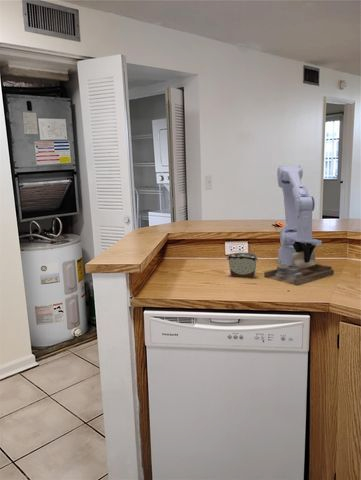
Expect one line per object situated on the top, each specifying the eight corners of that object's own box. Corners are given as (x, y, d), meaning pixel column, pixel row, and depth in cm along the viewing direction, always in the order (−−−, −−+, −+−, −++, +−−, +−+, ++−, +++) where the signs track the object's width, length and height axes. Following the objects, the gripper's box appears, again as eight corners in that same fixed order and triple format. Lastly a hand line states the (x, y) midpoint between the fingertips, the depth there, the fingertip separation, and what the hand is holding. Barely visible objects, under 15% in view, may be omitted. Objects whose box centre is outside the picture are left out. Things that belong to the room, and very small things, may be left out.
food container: (261, 277, 166) (261, 253, 165) (257, 281, 161) (257, 256, 159) (232, 275, 172) (231, 251, 170) (227, 278, 166) (226, 254, 164)
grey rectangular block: (292, 268, 162) (292, 253, 160) (310, 263, 168) (310, 249, 167) (297, 269, 160) (297, 254, 159) (315, 264, 166) (315, 250, 165)
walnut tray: (264, 279, 163) (264, 269, 162) (300, 269, 175) (300, 260, 175) (296, 288, 150) (297, 277, 149) (333, 276, 162) (333, 267, 162)
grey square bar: (275, 277, 162) (275, 266, 161) (282, 275, 164) (282, 265, 164) (295, 282, 154) (295, 271, 153) (302, 280, 156) (302, 269, 155)
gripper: (282, 226, 164) (282, 260, 167) (313, 230, 153) (312, 266, 155) (294, 224, 168) (294, 257, 171) (325, 228, 157) (324, 263, 159)
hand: (303, 261), depth 163 cm, fingers closed on grey rectangular block, 2 cm apart
